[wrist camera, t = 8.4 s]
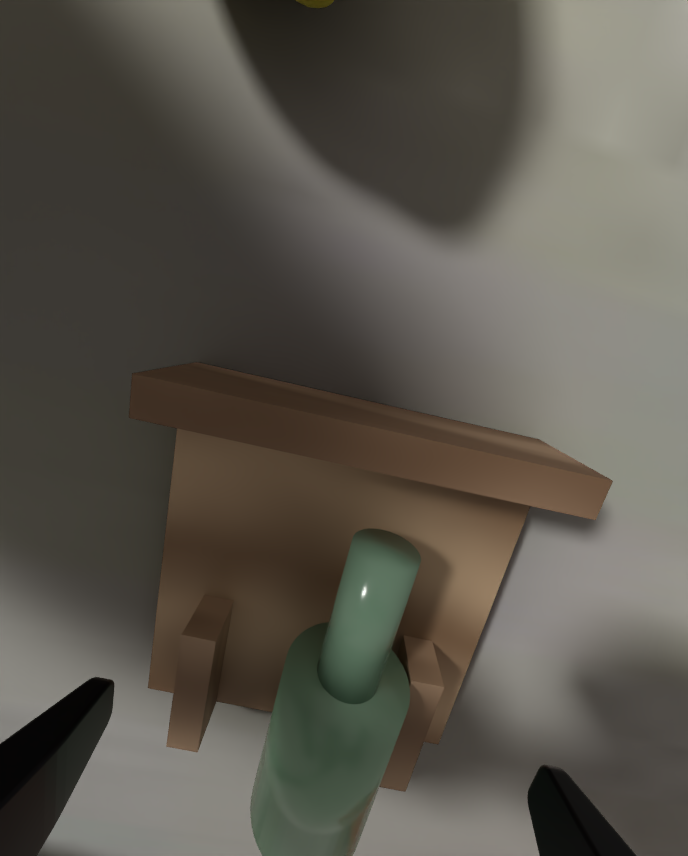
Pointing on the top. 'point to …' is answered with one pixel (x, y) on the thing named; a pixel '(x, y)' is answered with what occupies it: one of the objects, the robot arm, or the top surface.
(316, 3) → the lemon
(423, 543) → the cradle
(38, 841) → the robot arm
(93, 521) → the top surface
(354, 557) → the bottle
